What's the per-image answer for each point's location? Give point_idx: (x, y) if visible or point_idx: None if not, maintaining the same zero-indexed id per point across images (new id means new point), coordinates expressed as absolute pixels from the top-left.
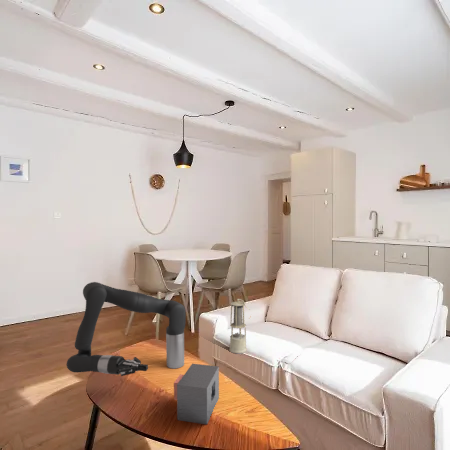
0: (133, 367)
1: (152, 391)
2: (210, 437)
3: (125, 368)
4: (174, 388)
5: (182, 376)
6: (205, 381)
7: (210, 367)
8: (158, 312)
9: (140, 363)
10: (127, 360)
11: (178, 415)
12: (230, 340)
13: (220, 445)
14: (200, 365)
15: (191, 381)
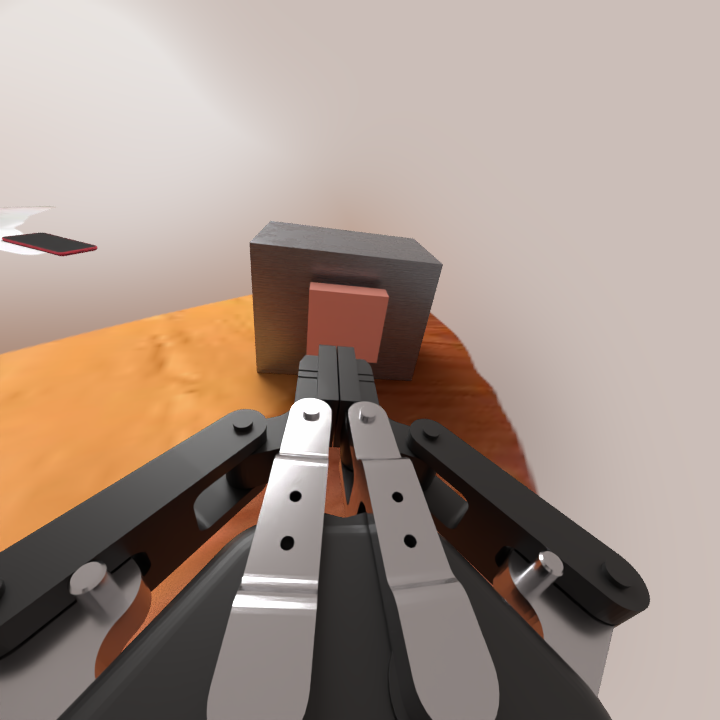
0: (436, 429)
1: (225, 541)
2: (428, 328)
3: (533, 529)
4: (383, 320)
5: (327, 285)
6: (379, 237)
7: (281, 227)
8: None
9: (268, 421)
10: (281, 662)
11: (413, 365)
12: None
13: (437, 318)
14: (268, 234)
15: (398, 248)
